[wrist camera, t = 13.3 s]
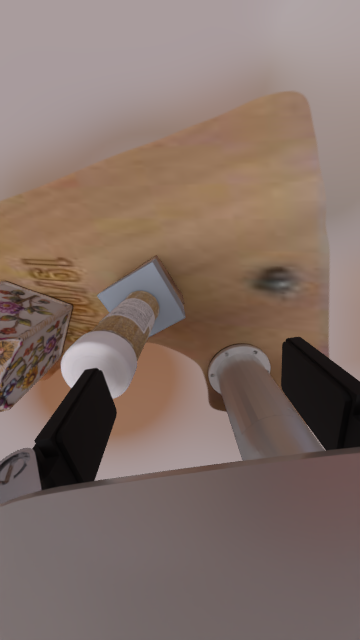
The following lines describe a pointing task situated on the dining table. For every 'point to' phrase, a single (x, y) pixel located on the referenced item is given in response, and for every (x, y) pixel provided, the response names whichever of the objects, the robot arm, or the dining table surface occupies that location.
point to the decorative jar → (28, 339)
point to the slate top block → (153, 283)
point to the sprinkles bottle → (114, 343)
